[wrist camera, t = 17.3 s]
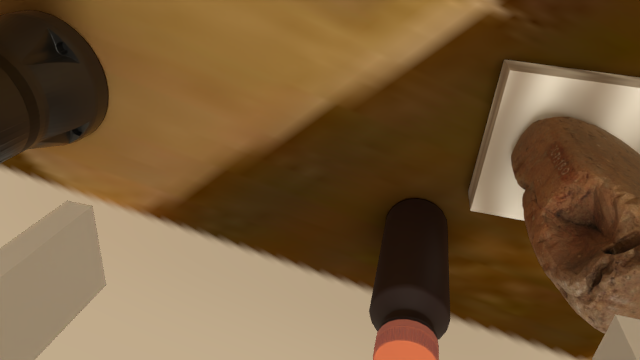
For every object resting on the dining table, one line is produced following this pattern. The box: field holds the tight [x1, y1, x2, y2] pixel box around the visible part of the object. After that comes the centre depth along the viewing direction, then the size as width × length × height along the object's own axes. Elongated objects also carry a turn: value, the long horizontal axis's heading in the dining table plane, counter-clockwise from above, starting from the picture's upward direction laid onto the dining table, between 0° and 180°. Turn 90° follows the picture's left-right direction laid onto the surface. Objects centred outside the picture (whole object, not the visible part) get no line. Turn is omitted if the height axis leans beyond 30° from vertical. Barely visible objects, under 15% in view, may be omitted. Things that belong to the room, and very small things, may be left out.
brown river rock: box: [511, 117, 640, 334], centre depth 33 cm, size 11×8×20 cm
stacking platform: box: [468, 59, 640, 221], centre depth 43 cm, size 14×14×4 cm
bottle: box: [369, 199, 450, 360], centre depth 44 cm, size 7×7×20 cm
